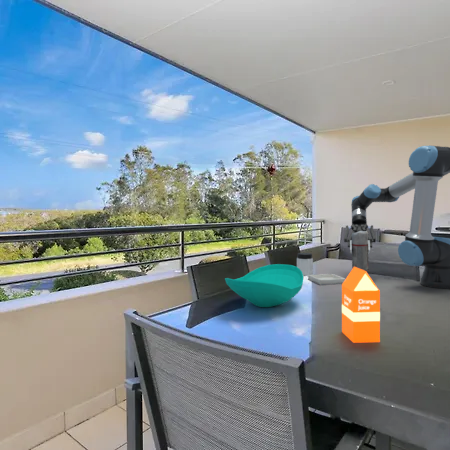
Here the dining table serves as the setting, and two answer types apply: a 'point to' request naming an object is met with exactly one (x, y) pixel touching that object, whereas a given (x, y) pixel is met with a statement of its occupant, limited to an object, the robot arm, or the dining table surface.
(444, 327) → the dining table surface
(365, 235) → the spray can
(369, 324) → the orange juice
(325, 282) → the tray
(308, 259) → the jar
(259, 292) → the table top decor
